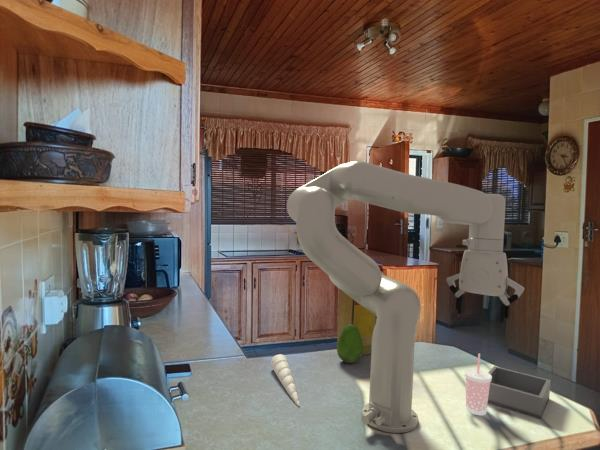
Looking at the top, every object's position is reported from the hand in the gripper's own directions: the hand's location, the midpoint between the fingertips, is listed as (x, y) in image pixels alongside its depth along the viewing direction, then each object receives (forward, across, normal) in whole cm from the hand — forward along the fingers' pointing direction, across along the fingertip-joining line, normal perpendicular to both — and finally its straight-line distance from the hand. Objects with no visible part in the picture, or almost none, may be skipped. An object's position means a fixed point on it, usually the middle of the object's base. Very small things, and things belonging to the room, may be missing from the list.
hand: (481, 316), depth 98 cm
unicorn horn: (+23, -43, -20) cm, 53 cm away
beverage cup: (+23, 0, 0) cm, 23 cm away
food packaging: (+23, -44, +17) cm, 52 cm away
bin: (+23, +6, +13) cm, 27 cm away
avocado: (+23, -39, +5) cm, 46 cm away
